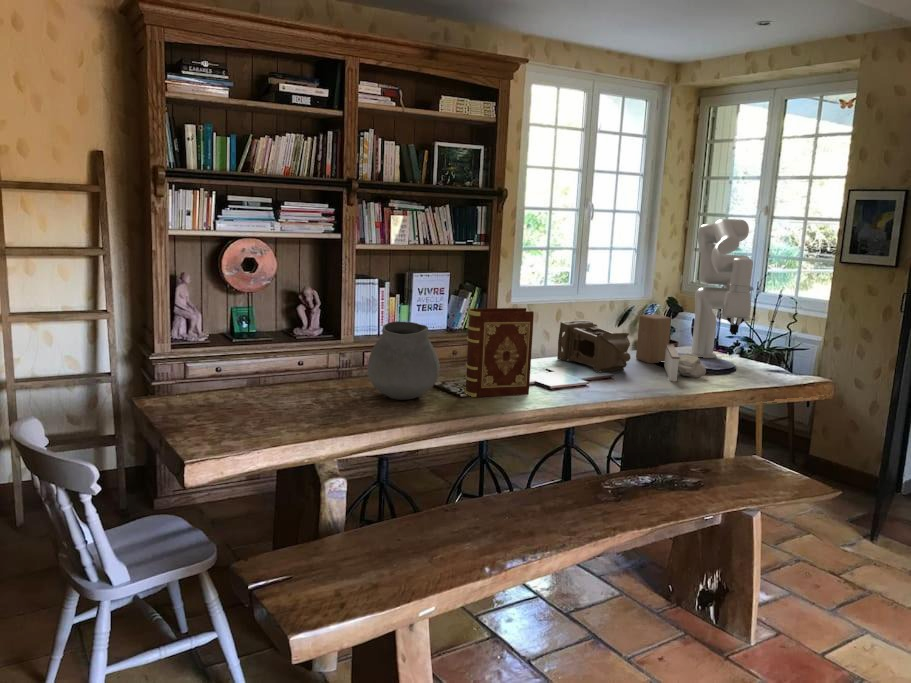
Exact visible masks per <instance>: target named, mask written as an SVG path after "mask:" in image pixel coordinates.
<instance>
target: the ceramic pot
mask: <svg viewBox="0 0 911 683" xmlns="http://www.w3.org/2000/svg"><path fill="white" fill-rule="evenodd" d="M381 331H382V334H381V336H380V338H379V339H378V340H377V342H375V344H374V346H373V348H372V350H371V351H370V355H369V356H368V357H369V358H368V361H367V376H368V379H369V381H370V382H371V384H372V386H373V387H375V389H377V390H378V391H379V392H380V393H382V394H383V395H385V396H386V397H389V398H390V399H393V400H398V401H399V400H400V401H402V400H403V401H405V400H412V399H416V398H418V397H420V396H422V395H424V394H426V393H427V392H428V391H430V390H431V389H432V388H433V387H434V386H435V384H436V383H437V381H438V379H439V375H440V367H441V366H440V360H439V356H438V355H437V352H436V350H435V348H434V345H433V344H432V342H431V340H430V339H429V327H428V326H427V325H426V324H425V325H424V324H419V323H417V322H411V321H399V320H398V321H391V322H387V323H385V324H384V325H383V326H382V330H381Z"/></svg>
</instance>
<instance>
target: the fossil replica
mask: <svg viewBox="0 0 911 683" xmlns="http://www.w3.org/2000/svg"><path fill="white" fill-rule="evenodd" d="M679 357H680V359H679V363H678V373H679V375H680V376H684V377H688V378H689V377H690V378H693V379H694V378H695V379H697V378H701V377H703V376H705V374H706V373H707V371H706V370H707V369H706V365H705V364H703V363H702V361H701V358H698V357H695V356H690V355H688V354H683V355H679Z"/></svg>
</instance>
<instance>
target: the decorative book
mask: <svg viewBox="0 0 911 683" xmlns="http://www.w3.org/2000/svg"><path fill="white" fill-rule="evenodd" d="M534 312H535V311H533V310H532V311H529V310H528V311H527V308H526V307H515V308H514V307H511V308H510V307H503V308H502V307H501V308H500V307H498V308H497V307H496V308H495V307H492V308H489V307H488V308H486V307H483V308H481V307H480V308H478V307H477V308H472V307H471V308H470V307H469V308H468V310H467V314H468V324H467V329H468V332H467V336H466V340H467V354H466V355H467V356H466V362H465V368H466V374H465V375H464V378H465V388H464V394H465V393H467V394H468V395H470V396H471V398H477V397H479V398H481V397H482V398H483V397H508V396H526V395H527V396H528V395H529V393H530V381H531V380H530V379H531V368H532V365H531V364H532V349H533V336H534V334H533V333H534V332H533V331H534V315H535V314H534ZM470 396H469V397H470Z"/></svg>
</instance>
